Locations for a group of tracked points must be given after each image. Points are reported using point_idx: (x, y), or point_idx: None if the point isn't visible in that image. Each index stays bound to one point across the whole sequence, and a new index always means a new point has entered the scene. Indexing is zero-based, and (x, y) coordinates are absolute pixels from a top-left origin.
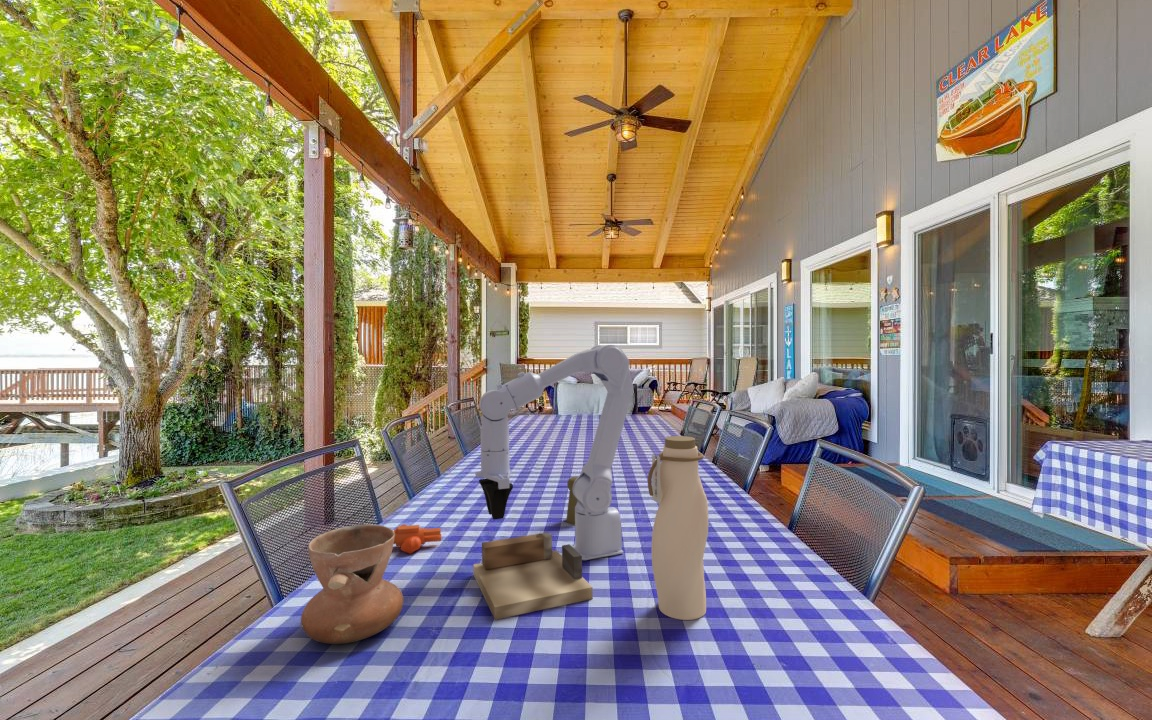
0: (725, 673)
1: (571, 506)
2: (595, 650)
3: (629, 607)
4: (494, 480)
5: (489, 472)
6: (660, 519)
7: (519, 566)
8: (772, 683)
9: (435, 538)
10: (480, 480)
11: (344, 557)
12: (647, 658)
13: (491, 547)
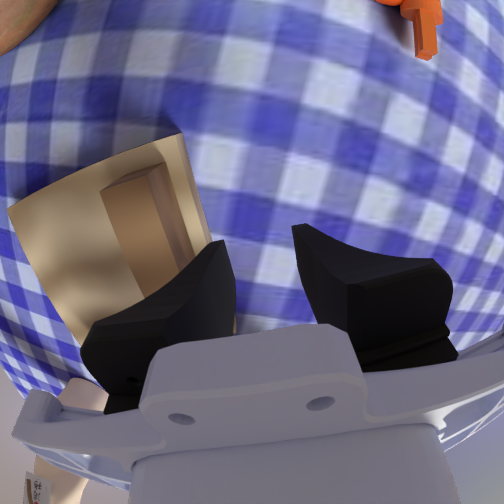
0: (18, 368)
1: None
2: (4, 305)
3: (78, 360)
4: (51, 424)
5: (134, 483)
6: (36, 458)
7: None
8: (21, 381)
9: (417, 42)
10: (416, 286)
11: None
12: (11, 337)
13: (106, 210)
